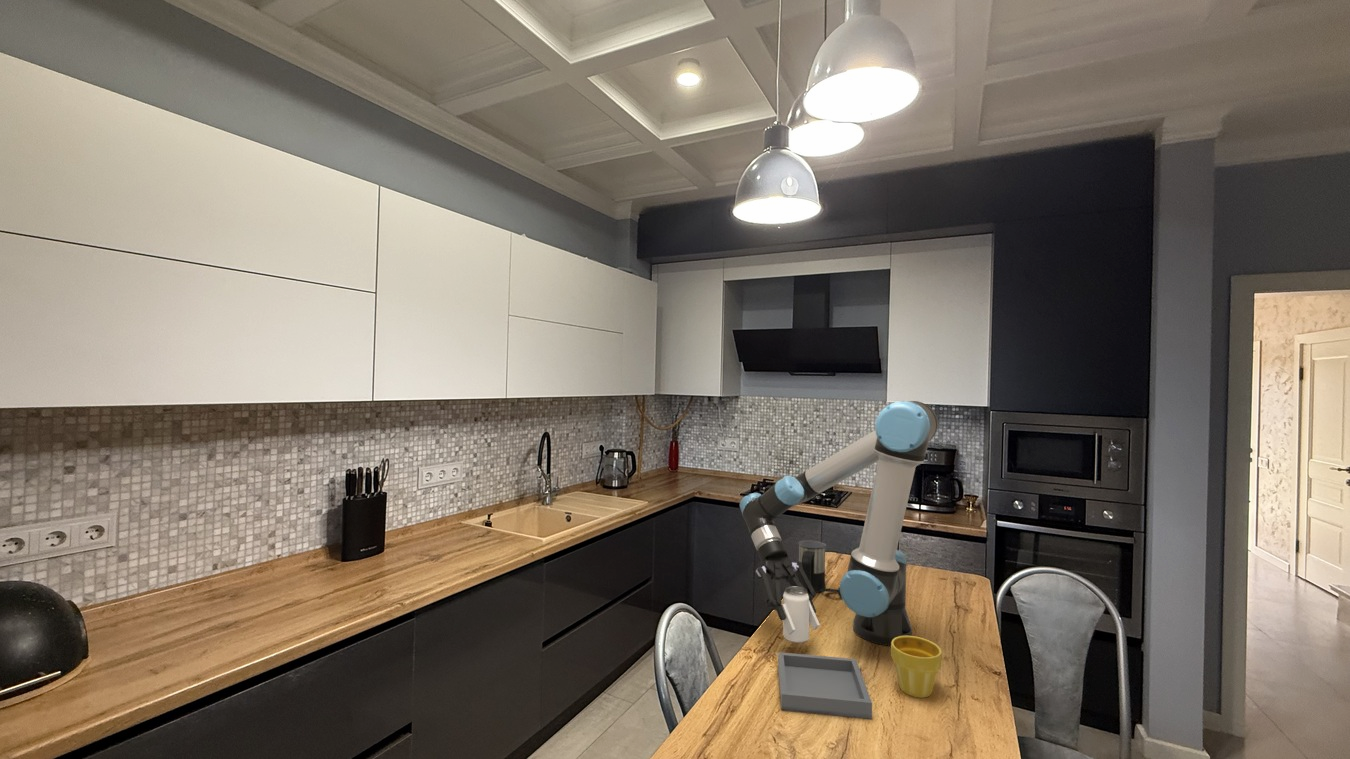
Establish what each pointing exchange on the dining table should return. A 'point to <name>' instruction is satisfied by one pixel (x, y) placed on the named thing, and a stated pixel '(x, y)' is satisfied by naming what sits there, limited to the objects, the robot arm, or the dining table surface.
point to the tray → (823, 686)
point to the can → (797, 613)
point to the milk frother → (814, 564)
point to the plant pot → (916, 664)
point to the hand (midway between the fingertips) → (804, 629)
